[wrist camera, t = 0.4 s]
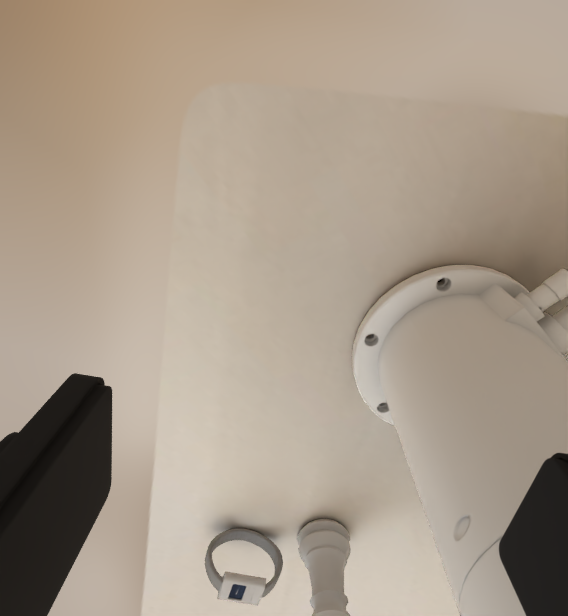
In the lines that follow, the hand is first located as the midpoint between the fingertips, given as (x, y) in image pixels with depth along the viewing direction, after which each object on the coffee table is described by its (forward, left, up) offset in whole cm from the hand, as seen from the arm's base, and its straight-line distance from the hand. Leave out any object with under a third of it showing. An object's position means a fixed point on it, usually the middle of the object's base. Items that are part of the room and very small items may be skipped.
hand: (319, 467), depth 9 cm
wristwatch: (+21, +16, -18) cm, 32 cm away
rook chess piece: (+16, +21, -18) cm, 32 cm away
